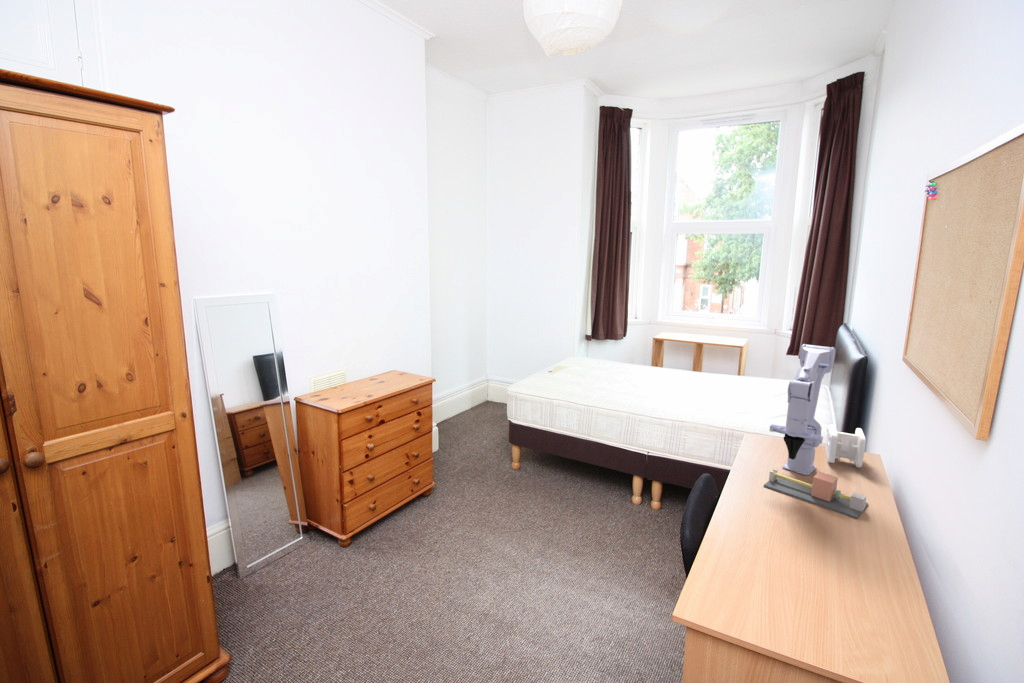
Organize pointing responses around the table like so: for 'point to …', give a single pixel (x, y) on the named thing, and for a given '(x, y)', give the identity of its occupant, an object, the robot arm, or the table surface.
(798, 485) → the cord rig
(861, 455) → the cable organizer
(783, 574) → the table surface
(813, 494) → the marker sleeve
